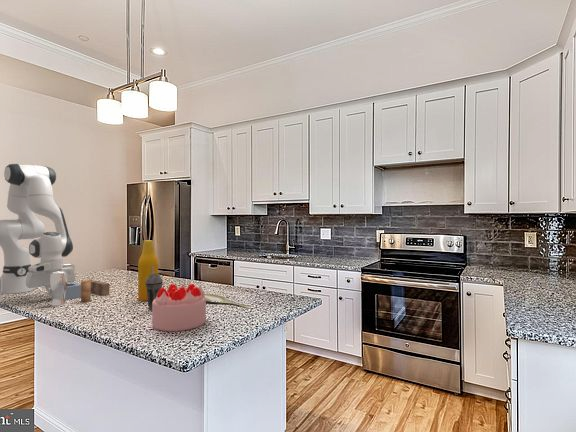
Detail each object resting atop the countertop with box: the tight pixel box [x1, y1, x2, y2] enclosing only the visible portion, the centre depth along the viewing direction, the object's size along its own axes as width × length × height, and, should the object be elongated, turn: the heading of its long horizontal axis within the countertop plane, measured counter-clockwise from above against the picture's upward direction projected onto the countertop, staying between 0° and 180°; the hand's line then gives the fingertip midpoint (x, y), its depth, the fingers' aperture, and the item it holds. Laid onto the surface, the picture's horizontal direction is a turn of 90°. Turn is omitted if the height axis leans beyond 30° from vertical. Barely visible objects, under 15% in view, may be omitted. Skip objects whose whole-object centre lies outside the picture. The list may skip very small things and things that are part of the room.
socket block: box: [65, 282, 81, 301], centre depth 173 cm, size 10×10×6 cm
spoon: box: [204, 293, 253, 309], centre depth 162 cm, size 35×11×2 cm, turn 57°
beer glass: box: [49, 271, 67, 307], centre depth 159 cm, size 7×7×15 cm
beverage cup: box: [145, 264, 164, 311], centre depth 153 cm, size 7×7×20 cm
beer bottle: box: [137, 239, 159, 302], centre depth 170 cm, size 9×9×29 cm
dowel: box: [80, 279, 92, 303], centre depth 165 cm, size 4×4×10 cm
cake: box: [151, 283, 207, 332], centre depth 132 cm, size 20×20×14 cm
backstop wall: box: [90, 279, 110, 297], centre depth 183 cm, size 20×3×6 cm, turn 56°
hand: (51, 294), depth 167 cm, fingers closed
